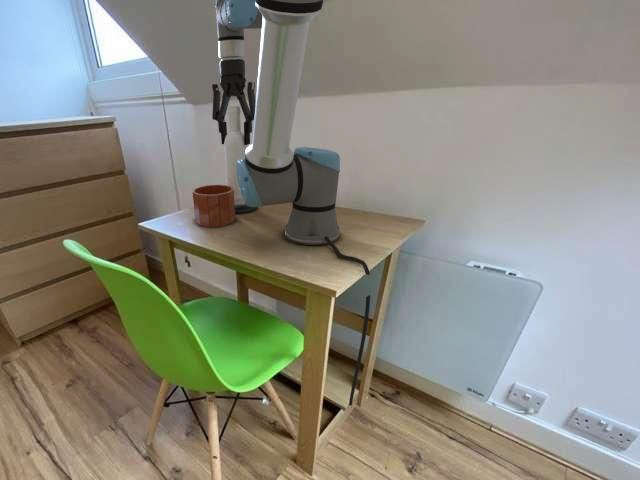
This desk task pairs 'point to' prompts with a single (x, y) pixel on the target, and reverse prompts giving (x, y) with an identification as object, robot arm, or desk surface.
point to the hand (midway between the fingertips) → (235, 143)
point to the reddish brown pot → (214, 205)
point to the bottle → (234, 152)
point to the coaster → (243, 209)
